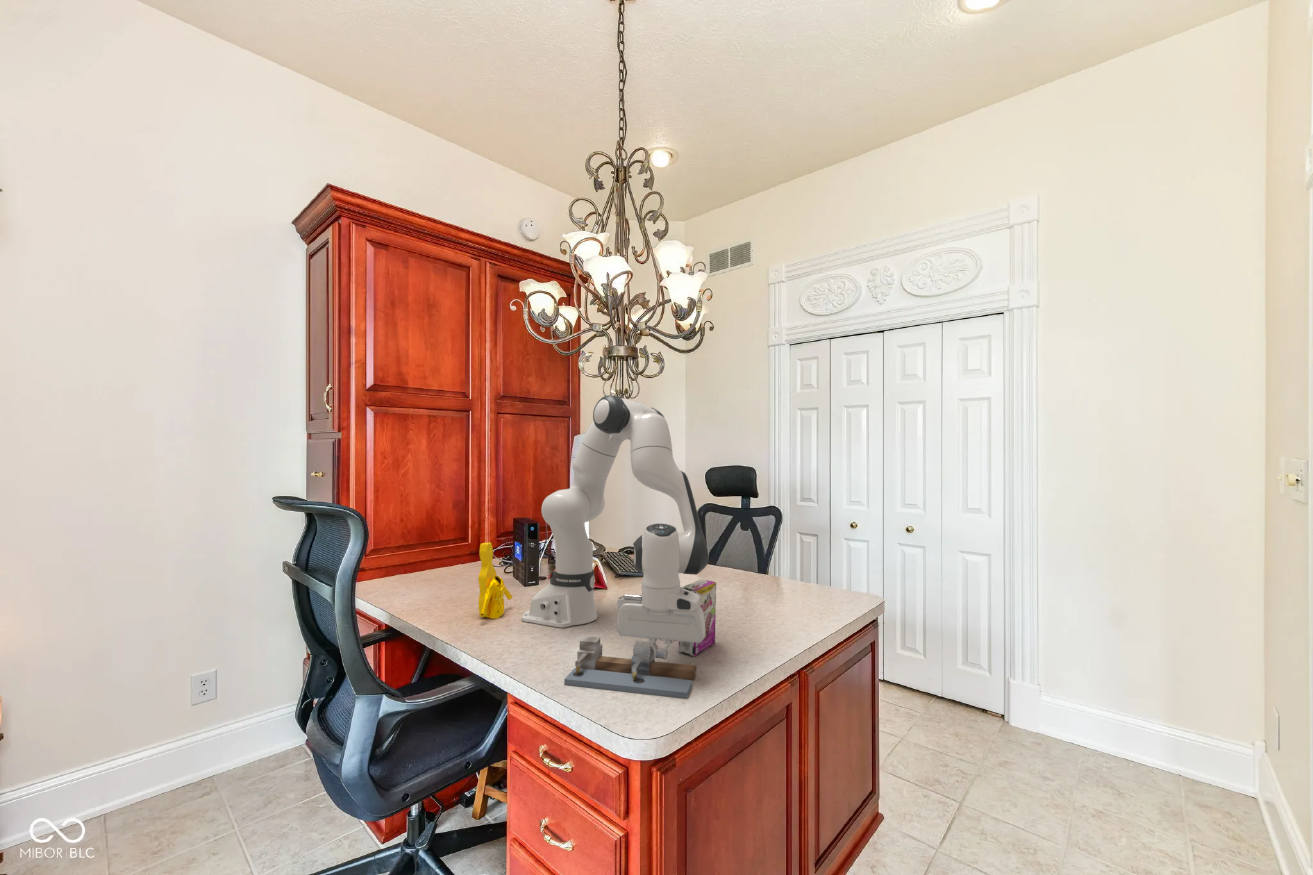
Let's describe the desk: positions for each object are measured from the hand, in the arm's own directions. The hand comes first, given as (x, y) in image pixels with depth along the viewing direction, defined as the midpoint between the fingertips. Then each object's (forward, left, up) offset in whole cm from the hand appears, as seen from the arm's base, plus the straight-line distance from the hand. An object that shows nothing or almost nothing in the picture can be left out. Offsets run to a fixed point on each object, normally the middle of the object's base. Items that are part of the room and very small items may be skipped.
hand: (660, 657), depth 122 cm
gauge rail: (-5, -3, -4) cm, 7 cm away
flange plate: (-5, -8, -4) cm, 10 cm away
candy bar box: (+6, +17, -4) cm, 18 cm away
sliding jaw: (-4, -3, -3) cm, 6 cm away
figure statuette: (-59, +28, -4) cm, 65 cm away
